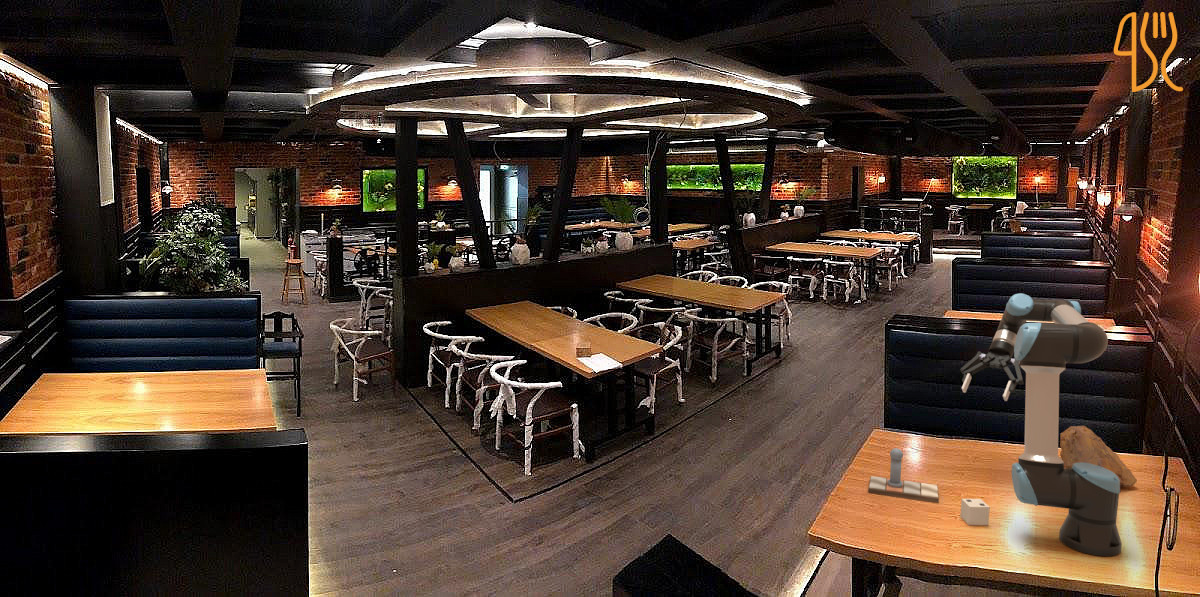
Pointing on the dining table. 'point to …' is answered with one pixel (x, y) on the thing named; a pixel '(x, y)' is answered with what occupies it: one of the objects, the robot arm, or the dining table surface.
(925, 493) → the board
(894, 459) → the pawn
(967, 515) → the die
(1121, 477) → the rock
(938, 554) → the dining table surface
